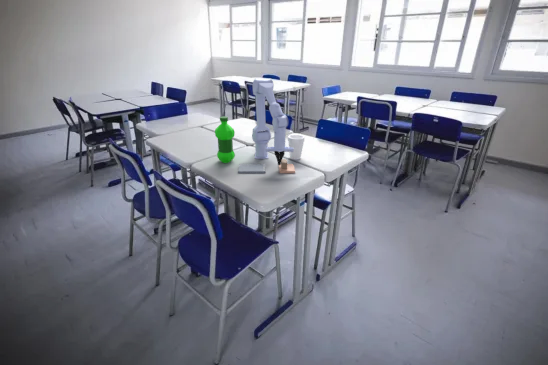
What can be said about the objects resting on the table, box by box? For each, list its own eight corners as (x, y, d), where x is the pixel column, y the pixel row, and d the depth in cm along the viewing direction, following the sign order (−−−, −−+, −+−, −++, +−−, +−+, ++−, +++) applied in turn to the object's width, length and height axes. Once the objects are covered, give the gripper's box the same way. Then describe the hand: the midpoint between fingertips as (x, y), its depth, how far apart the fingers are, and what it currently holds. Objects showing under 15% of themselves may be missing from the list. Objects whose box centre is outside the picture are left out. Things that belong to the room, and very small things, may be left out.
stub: (278, 165, 155) (278, 157, 153) (293, 165, 155) (293, 157, 153) (279, 173, 146) (280, 164, 144) (295, 173, 146) (295, 164, 144)
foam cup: (293, 161, 161) (295, 140, 156) (284, 157, 168) (284, 136, 162) (306, 158, 166) (307, 137, 161) (296, 154, 173) (297, 133, 167)
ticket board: (239, 166, 154) (239, 163, 154) (265, 166, 155) (265, 163, 154) (238, 173, 145) (238, 171, 145) (265, 173, 146) (265, 171, 145)
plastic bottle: (224, 156, 166) (222, 114, 156) (239, 160, 162) (237, 116, 151) (213, 162, 159) (209, 117, 148) (227, 166, 154) (225, 120, 143)
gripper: (265, 142, 139) (265, 167, 145) (294, 142, 140) (293, 167, 146) (265, 137, 146) (265, 162, 152) (293, 138, 146) (292, 162, 152)
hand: (279, 164), depth 149 cm, fingers closed
